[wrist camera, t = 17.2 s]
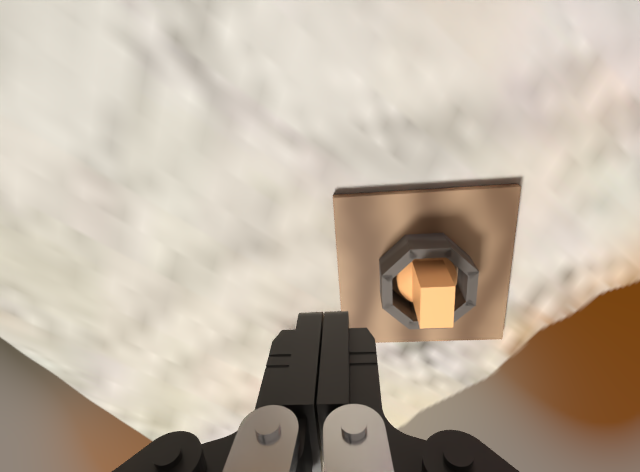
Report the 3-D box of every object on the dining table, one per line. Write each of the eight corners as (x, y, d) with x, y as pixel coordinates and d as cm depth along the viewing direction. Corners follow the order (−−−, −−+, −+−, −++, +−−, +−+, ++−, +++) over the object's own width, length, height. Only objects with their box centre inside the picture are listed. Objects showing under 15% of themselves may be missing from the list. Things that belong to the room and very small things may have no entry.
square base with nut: (343, 338, 48) (343, 364, 44) (333, 194, 41) (331, 210, 37) (499, 333, 46) (513, 360, 42) (516, 183, 39) (536, 198, 35)
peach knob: (395, 295, 44) (403, 336, 38) (394, 246, 42) (403, 280, 35) (451, 293, 43) (469, 333, 37) (454, 243, 41) (473, 277, 35)
